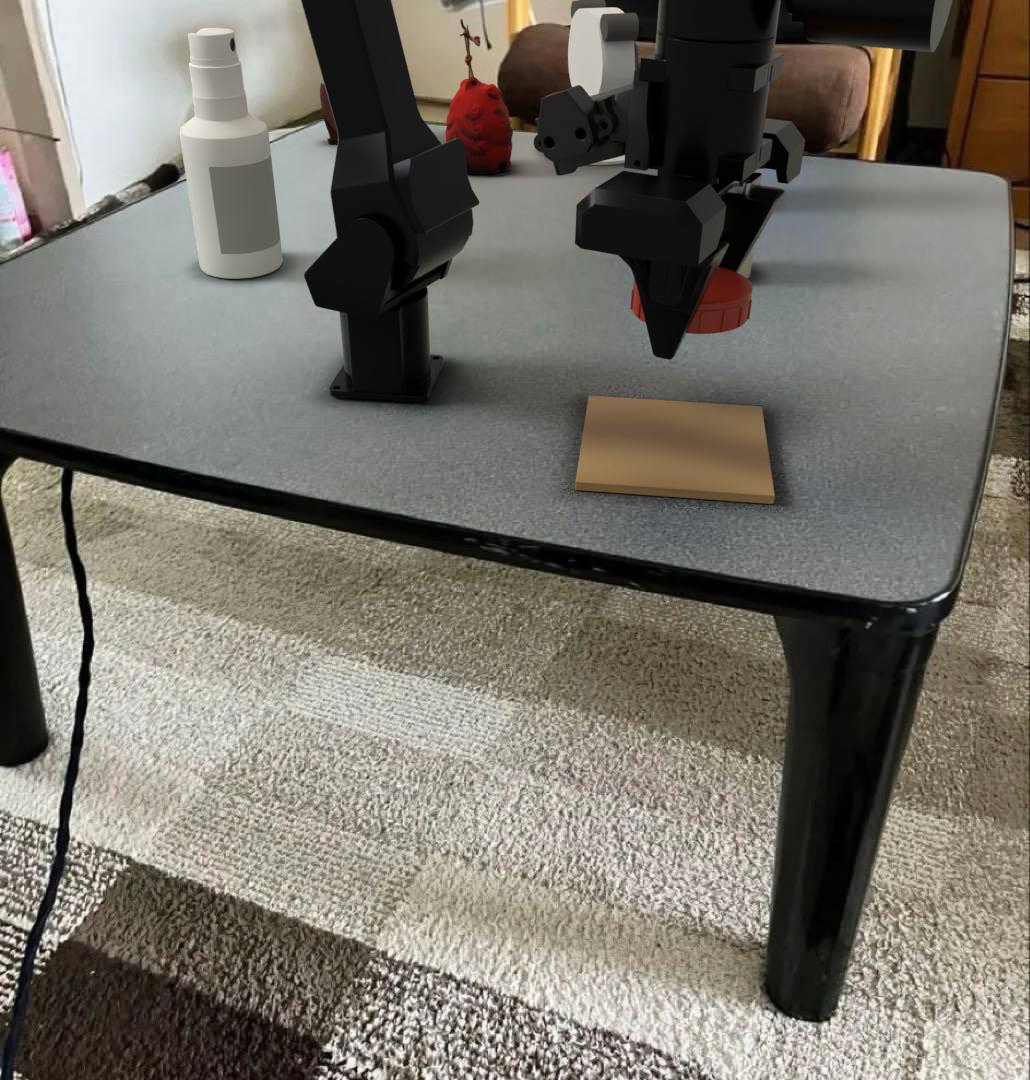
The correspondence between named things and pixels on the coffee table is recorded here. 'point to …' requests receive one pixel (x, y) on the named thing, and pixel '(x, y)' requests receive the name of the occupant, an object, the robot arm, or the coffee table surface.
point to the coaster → (675, 450)
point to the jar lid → (715, 304)
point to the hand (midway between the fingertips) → (684, 336)
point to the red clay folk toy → (480, 121)
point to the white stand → (602, 50)
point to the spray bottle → (228, 166)
